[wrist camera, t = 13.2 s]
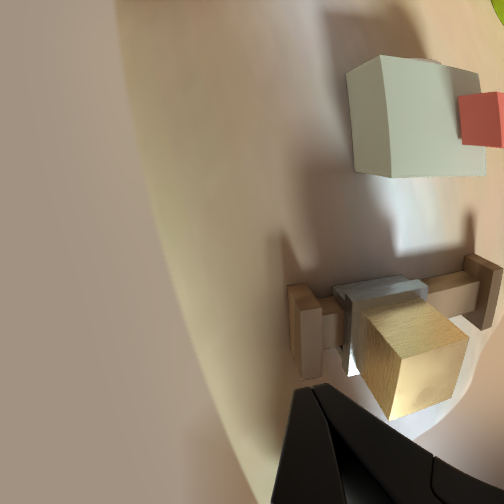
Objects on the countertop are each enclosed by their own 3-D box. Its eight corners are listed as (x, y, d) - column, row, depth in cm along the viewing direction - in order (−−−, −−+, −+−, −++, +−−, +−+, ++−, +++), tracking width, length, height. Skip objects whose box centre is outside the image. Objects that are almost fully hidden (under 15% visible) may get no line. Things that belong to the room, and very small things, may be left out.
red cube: (492, 147, 14) (530, 151, 11) (461, 144, 13) (501, 147, 11) (488, 102, 13) (526, 100, 10) (457, 96, 13) (497, 91, 10)
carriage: (401, 267, 20) (478, 324, 12) (395, 333, 22) (455, 402, 14) (332, 278, 20) (393, 350, 12) (332, 347, 21) (377, 431, 13)
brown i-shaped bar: (475, 253, 21) (503, 268, 18) (466, 308, 22) (491, 326, 19) (287, 285, 20) (300, 311, 17) (290, 349, 21) (302, 380, 18)
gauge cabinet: (441, 168, 19) (486, 176, 14) (354, 171, 18) (391, 178, 14) (434, 78, 17) (477, 68, 12) (344, 68, 16) (378, 49, 12)
